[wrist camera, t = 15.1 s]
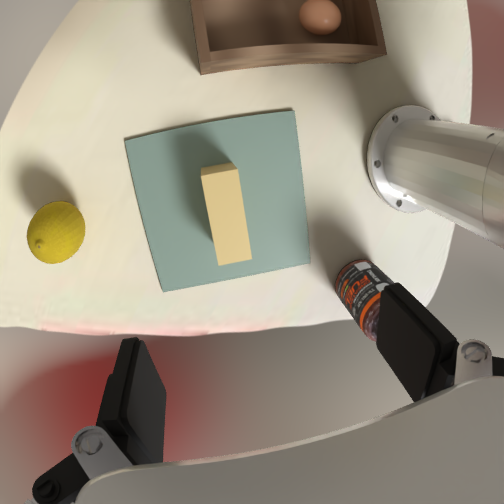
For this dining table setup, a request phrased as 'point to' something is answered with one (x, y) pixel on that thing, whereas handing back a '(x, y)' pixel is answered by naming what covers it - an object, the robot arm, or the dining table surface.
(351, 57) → the box
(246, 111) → the dining table surface
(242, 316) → the dining table surface
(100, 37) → the dining table surface
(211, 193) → the lid
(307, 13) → the ball
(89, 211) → the dining table surface
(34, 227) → the lemon
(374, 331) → the supplement bottle
